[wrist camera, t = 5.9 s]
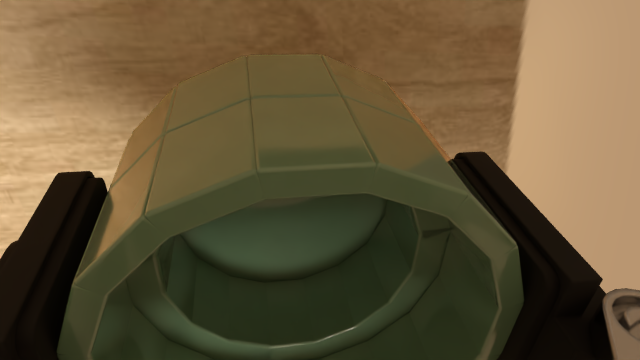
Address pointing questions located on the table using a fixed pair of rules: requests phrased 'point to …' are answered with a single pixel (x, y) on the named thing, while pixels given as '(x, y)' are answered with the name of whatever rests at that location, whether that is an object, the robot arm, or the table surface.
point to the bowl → (291, 230)
